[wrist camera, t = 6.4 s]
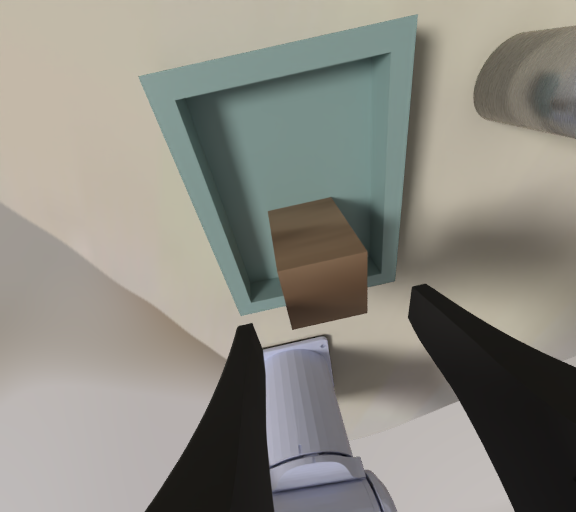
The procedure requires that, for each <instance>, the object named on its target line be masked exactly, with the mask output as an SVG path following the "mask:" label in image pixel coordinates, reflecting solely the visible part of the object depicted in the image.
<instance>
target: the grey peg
mask: <svg viewBox="0 0 576 512" xmlns="http://www.w3.org/2000/svg"><path fill="white" fill-rule="evenodd" d="M474 105H475V109H476V111H477V112H478V114H479V115H480V116H481V117H482V118H484V119H487V120H490V121H495V122H500V123H504V124H509V125H514V126H518V127H523V128H528V129H533V130H537V131H542V132H547V133H551V134H556V135H561V136H565V137H570V138H575V139H576V26H569V27H561V28H553V29H545V30H538V31H530V32H523V33H520V34H517V35H515V36H512V37H511V38H509V39H507V40H506V41H505V42H503V43H502V44H501V45H500V46H499V47H498V48H497V49H496V50H495V51H494V52H493V53H492V54H491V55H490V57H489V58H488V59H487V61H486V62H485V64H484V65H483V67H482V69H481V71H480V73H479V75H478V78H477V81H476V84H475V88H474Z"/></svg>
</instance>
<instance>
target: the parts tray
mask: <svg viewBox="0 0 576 512" xmlns="http://www.w3.org/2000/svg"><path fill="white" fill-rule="evenodd" d="M417 17H418V14H417V15H412V16H408V17H403V18H399V19H394V20H390V21H385V22H381V23H376V24H372V25H367V26H363V27H358V28H354V29H349V30H345V31H340V32H336V33H331V34H327V35H322V36H318V37H313V38H309V39H304V40H300V41H295V42H291V43H286V44H282V45H277V46H273V47H268V48H264V49H259V50H255V51H250V52H246V53H241V54H237V55H232V56H228V57H223V58H219V59H214V60H210V61H205V62H201V63H196V64H192V65H187V66H183V67H178V68H174V69H169V70H165V71H160V72H156V73H151V74H147V75H142V76H138V77H139V79H140V82H141V84H142V86H143V89H144V91H145V93H146V96H147V98H148V100H149V103H150V105H151V107H152V110H153V112H154V114H155V117H156V119H157V121H158V124H159V126H160V128H161V131H162V133H163V135H164V138H165V140H166V142H167V145H168V147H169V149H170V152H171V154H172V156H173V159H174V161H175V163H176V166H177V168H178V170H179V173H180V175H181V177H182V180H183V182H184V184H185V187H186V189H187V192H188V194H189V196H190V199H191V201H192V203H193V206H194V208H195V210H196V213H197V215H198V217H199V220H200V222H201V224H202V227H203V229H204V231H205V234H206V236H207V238H208V241H209V243H210V245H211V248H212V250H213V252H214V255H215V257H216V259H217V262H218V264H219V266H220V269H221V271H222V273H223V276H224V278H225V280H226V283H227V285H228V287H229V290H230V292H231V294H232V297H233V299H234V301H235V304H236V306H237V308H238V311H239V313H240V315H241V316H243V315H247V314H252V313H256V312H260V311H265V310H269V309H274V308H278V307H283V306H286V303H285V300H284V296H283V292H282V288H281V284H280V281H279V277H278V273H277V267H276V261H275V255H274V248H273V242H272V236H271V229H270V223H269V217H268V211H270V210H275V209H279V208H284V207H288V206H293V205H297V204H302V203H306V202H311V201H315V200H320V199H324V198H329V197H331V198H332V199H333V201H334V202H335V204H336V205H337V207H338V208H339V210H340V211H341V213H342V214H343V216H344V217H345V219H346V220H347V222H348V223H349V225H350V226H351V228H352V229H353V231H354V232H355V234H356V235H357V237H358V238H359V240H360V241H361V243H362V244H363V246H364V247H365V249H366V250H367V252H368V255H367V287H371V286H376V285H380V284H385V283H389V282H394V281H395V276H396V264H397V253H398V241H399V229H400V217H401V206H402V194H403V182H404V170H405V158H406V147H407V135H408V123H409V111H410V100H411V88H412V76H413V64H414V52H415V41H416V29H417Z"/></svg>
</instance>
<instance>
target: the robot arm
mask: <svg viewBox="0 0 576 512" xmlns="http://www.w3.org/2000/svg"><path fill="white" fill-rule="evenodd" d="M408 319H409V321H410V323H411V325H412V327H413V329H414V331H415V332H416V334H417V336H418V338H419V340H420V341H421V343H422V344H423V346H424V347H425V349H426V350H427V352H428V353H429V355H430V356H431V358H432V359H433V361H434V362H435V364H436V365H437V367H438V368H439V370H440V371H441V373H442V374H443V375H444V377H445V378H446V380H447V381H448V383H449V384H450V386H451V387H452V389H453V391H454V392H455V394H456V395H457V397H458V399H459V401H460V403H461V404H462V406H463V408H464V410H465V411H466V413H467V415H468V417H469V419H470V421H471V423H472V424H473V426H474V428H475V430H476V432H477V434H478V436H479V438H480V440H481V442H482V443H483V445H484V447H485V450H486V452H487V454H488V456H489V458H490V460H491V462H492V464H493V466H494V468H495V470H496V472H497V474H498V476H499V478H500V480H501V482H502V484H503V487H504V489H505V491H506V493H507V495H508V497H509V500H510V502H511V504H512V506H513V508H514V511H515V512H576V367H574V366H571V365H569V364H567V363H565V362H562V361H560V360H558V359H555V358H553V357H551V356H549V355H547V354H545V353H542V352H540V351H538V350H536V349H534V348H532V347H530V346H528V345H526V344H524V343H522V342H520V341H518V340H516V339H515V338H513V337H511V336H509V335H507V334H505V333H504V332H502V331H500V330H498V329H496V328H495V327H493V326H491V325H489V324H488V323H486V322H484V321H483V320H481V319H479V318H478V317H476V316H474V315H473V314H471V313H470V312H468V311H466V310H465V309H463V308H462V307H460V306H459V305H457V304H456V303H454V302H453V301H451V300H450V299H448V298H446V297H445V296H443V295H442V294H440V293H439V292H438V291H436V290H435V289H433V288H431V287H430V286H428V285H427V284H422V285H418V286H413V287H412V291H411V299H410V306H409V314H408ZM145 512H397V510H396V507H395V505H394V502H393V500H392V498H391V496H390V494H389V492H388V490H387V489H386V487H385V486H384V484H383V483H382V482H381V481H380V480H379V479H378V478H377V476H376V475H375V474H374V473H373V472H372V471H370V470H364V468H363V464H362V461H361V458H360V457H353V456H352V452H351V448H350V444H349V441H348V437H347V434H346V430H345V426H344V423H343V419H342V416H341V412H340V408H339V405H338V401H337V398H336V394H335V390H334V382H333V375H332V368H331V361H330V354H329V347H328V341H327V338H326V337H324V336H321V337H317V338H312V339H308V340H303V341H299V342H295V343H290V344H286V345H281V346H277V347H272V348H268V349H264V350H263V349H262V347H261V344H260V342H259V339H258V337H257V334H256V331H255V329H254V326H253V324H252V323H250V324H246V325H241V326H238V328H237V330H236V334H235V337H234V341H233V344H232V347H231V350H230V353H229V356H228V359H227V362H226V364H225V367H224V370H223V373H222V375H221V378H220V380H219V382H218V385H217V387H216V389H215V392H214V394H213V397H212V399H211V401H210V403H209V405H208V407H207V409H206V411H205V414H204V415H203V417H202V419H201V421H200V423H199V425H198V427H197V429H196V431H195V433H194V434H193V436H192V438H191V440H190V442H189V443H188V445H187V447H186V449H185V450H184V452H183V454H182V455H181V457H180V459H179V461H178V462H177V464H176V465H175V467H174V468H173V470H172V472H171V473H170V475H169V476H168V478H167V479H166V481H165V482H164V484H163V486H162V487H161V489H160V490H159V492H158V493H157V495H156V496H155V498H154V499H153V501H152V502H151V503H150V505H149V506H148V508H147V509H146V511H145Z"/></svg>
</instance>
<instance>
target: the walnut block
mask: <svg viewBox="0 0 576 512" xmlns="http://www.w3.org/2000/svg"><path fill="white" fill-rule="evenodd" d="M268 217H269V223H270V229H271V236H272V242H273V248H274V255H275V261H276V267H277V273H278V277H279V281H280V284H281V288H282V292H283V296H284V300H285V303H286V307H287V311H288V315H289V319H290V322H291V326H292V330H294V329H298V328H303V327H307V326H311V325H316V324H320V323H325V322H329V321H334V320H338V319H343V318H347V317H351V316H356V315H360V314H365V313H367V255H368V252H367V250H366V249H365V247H364V246H363V244H362V243H361V241H360V240H359V238H358V237H357V235H356V234H355V232H354V231H353V229H352V228H351V226H350V225H349V223H348V222H347V220H346V219H345V217H344V216H343V214H342V213H341V211H340V210H339V208H338V207H337V205H336V204H335V202H334V201H333V199H332V198H331V197H329V198H324V199H320V200H315V201H311V202H306V203H302V204H297V205H293V206H288V207H284V208H279V209H275V210H270V211H268Z"/></svg>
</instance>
